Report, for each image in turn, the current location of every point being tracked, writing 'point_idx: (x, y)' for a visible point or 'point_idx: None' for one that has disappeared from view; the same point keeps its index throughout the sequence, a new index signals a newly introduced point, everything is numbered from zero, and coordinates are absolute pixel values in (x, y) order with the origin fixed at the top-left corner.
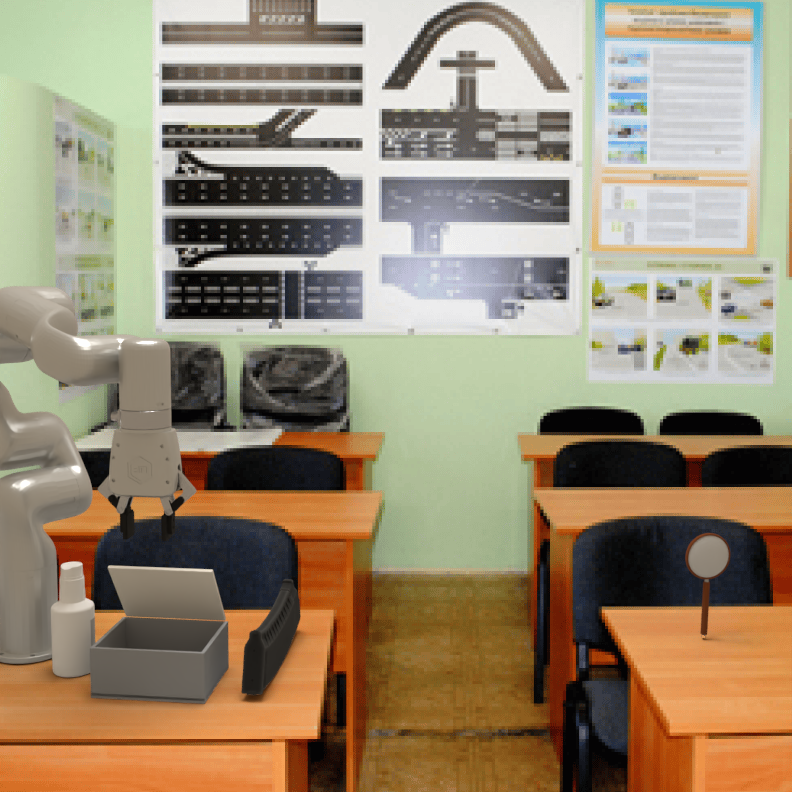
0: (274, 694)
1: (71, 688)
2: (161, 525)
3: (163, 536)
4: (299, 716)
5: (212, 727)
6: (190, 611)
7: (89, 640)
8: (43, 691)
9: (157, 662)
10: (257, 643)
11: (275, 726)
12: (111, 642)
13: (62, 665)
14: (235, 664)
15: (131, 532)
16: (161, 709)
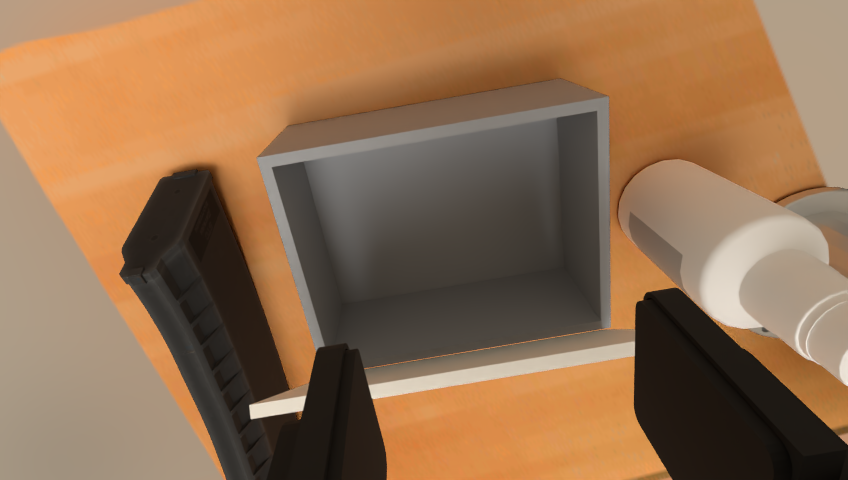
0: None
1: (628, 113)
2: (343, 437)
3: (334, 363)
4: (43, 128)
5: (198, 11)
6: (417, 362)
7: (656, 226)
8: (686, 79)
9: (398, 125)
10: (139, 252)
11: (61, 61)
12: (587, 215)
13: (687, 165)
14: None
15: (649, 386)
16: (368, 69)
